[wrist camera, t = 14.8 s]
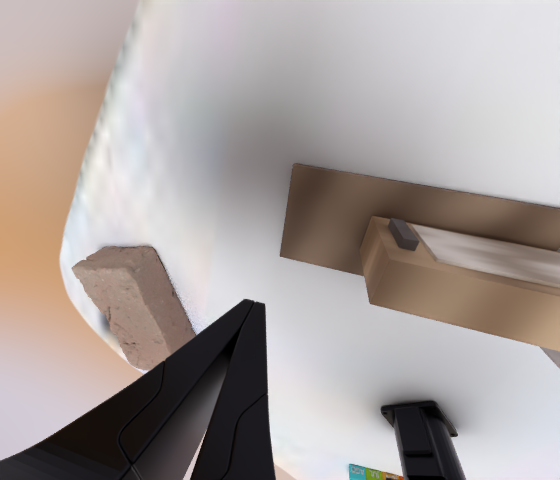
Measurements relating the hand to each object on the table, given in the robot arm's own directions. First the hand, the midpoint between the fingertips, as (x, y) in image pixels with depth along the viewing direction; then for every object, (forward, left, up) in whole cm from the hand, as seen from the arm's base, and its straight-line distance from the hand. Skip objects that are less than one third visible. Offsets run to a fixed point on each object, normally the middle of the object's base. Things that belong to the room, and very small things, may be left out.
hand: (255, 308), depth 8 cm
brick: (0, +23, -12) cm, 26 cm away
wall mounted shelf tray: (-8, -8, -10) cm, 15 cm away
